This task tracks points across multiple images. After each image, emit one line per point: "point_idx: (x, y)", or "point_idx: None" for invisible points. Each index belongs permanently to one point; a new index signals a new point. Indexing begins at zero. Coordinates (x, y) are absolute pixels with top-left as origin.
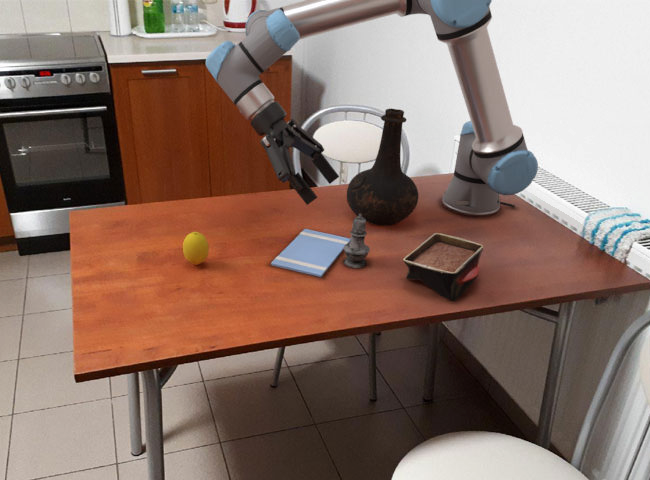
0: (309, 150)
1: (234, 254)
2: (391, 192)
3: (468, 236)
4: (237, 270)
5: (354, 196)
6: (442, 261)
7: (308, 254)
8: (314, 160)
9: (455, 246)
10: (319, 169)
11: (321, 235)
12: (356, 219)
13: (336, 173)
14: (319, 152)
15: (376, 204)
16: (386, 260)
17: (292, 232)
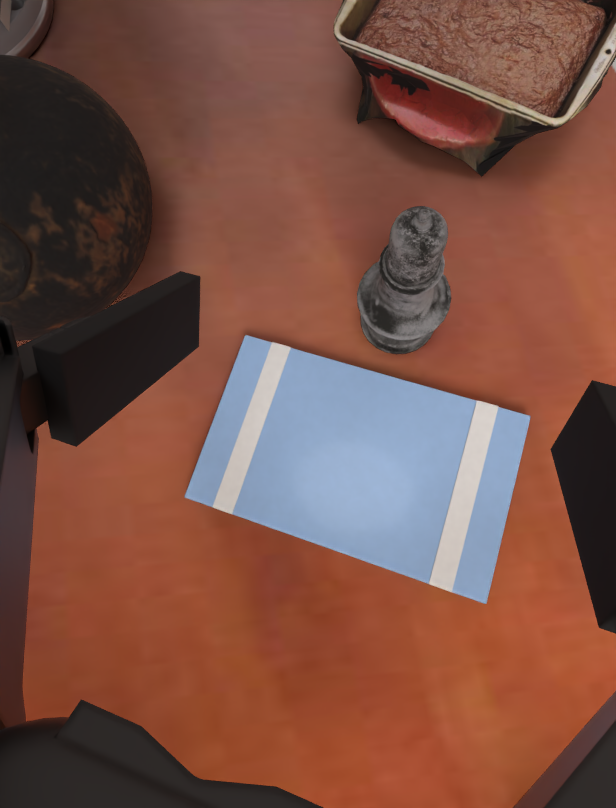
0: (22, 461)
1: (427, 764)
2: (90, 128)
3: (175, 33)
4: (556, 733)
5: (61, 292)
6: (513, 28)
7: (389, 469)
8: (80, 422)
9: (380, 2)
10: (133, 392)
11: (233, 433)
12: (436, 239)
13: (170, 280)
14: (19, 364)
15: (130, 210)
16: (363, 232)
17: (204, 542)
